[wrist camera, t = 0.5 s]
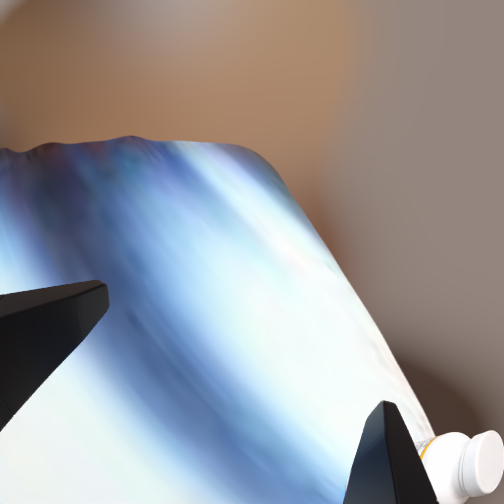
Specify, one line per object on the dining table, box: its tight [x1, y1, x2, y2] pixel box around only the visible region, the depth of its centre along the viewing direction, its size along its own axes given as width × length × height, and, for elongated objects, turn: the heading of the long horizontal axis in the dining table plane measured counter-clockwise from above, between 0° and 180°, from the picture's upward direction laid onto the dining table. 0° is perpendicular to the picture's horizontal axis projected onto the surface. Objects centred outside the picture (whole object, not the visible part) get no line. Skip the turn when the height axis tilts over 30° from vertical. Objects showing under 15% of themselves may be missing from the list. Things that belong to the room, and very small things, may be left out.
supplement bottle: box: [346, 431, 504, 504], centre depth 14 cm, size 7×7×13 cm
